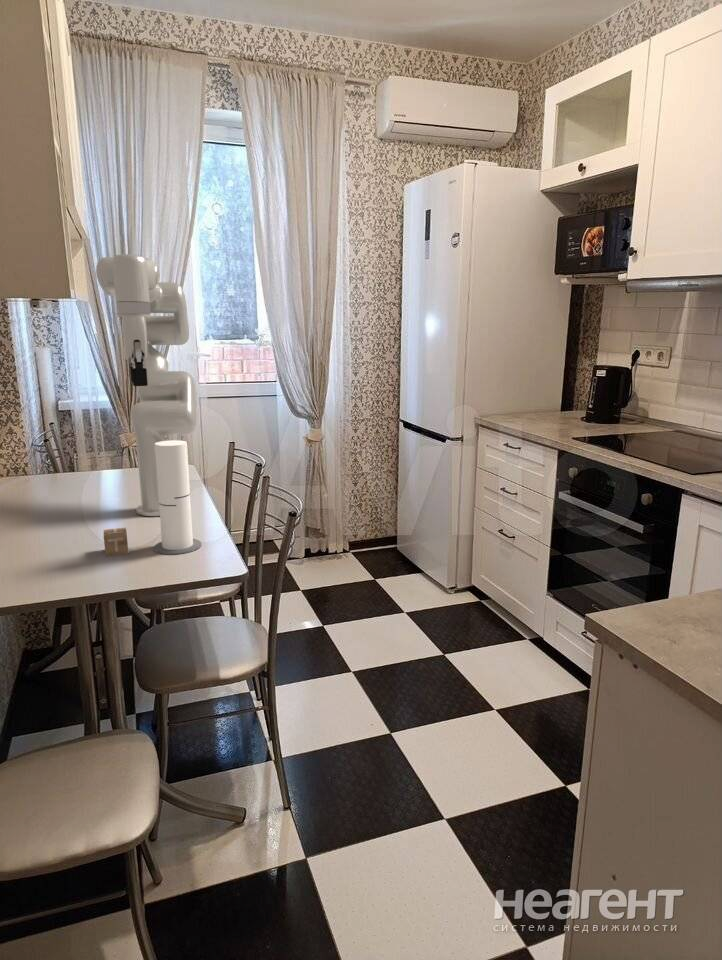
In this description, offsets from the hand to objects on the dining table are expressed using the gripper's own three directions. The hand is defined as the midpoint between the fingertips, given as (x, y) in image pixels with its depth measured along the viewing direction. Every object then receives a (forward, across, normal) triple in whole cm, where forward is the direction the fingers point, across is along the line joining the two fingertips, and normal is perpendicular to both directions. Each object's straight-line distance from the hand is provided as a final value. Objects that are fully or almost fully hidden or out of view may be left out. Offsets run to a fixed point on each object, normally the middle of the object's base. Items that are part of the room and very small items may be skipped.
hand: (139, 384), depth 153 cm
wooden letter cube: (+38, +9, -8) cm, 40 cm away
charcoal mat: (+38, +11, +5) cm, 40 cm away
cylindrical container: (+38, +11, +5) cm, 40 cm away
